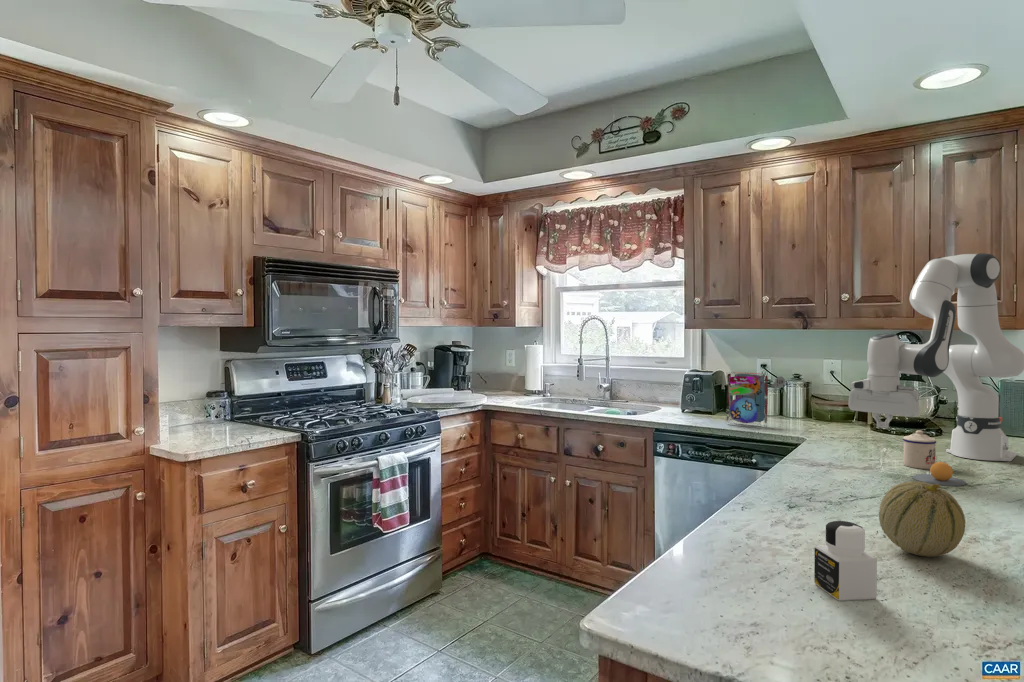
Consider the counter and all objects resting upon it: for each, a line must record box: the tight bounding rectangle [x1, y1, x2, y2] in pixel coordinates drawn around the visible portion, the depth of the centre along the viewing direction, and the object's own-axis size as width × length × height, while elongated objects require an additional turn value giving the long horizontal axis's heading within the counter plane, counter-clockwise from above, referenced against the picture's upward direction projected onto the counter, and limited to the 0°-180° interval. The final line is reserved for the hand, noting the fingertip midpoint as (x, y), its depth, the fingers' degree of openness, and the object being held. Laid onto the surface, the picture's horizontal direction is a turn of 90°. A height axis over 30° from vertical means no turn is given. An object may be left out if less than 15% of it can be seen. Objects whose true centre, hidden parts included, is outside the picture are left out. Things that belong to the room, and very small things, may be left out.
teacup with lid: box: [902, 429, 937, 470], centre depth 198 cm, size 12×9×12 cm
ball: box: [929, 461, 954, 481], centre depth 179 cm, size 6×6×6 cm
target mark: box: [912, 473, 967, 487], centre depth 179 cm, size 13×13×1 cm
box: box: [725, 371, 786, 429], centre depth 272 cm, size 25×6×24 cm, turn 50°
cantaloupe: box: [878, 480, 967, 558], centre depth 123 cm, size 15×15×15 cm
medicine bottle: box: [813, 520, 878, 602], centre depth 106 cm, size 7×7×12 cm
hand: (882, 427), depth 192 cm, fingers closed
